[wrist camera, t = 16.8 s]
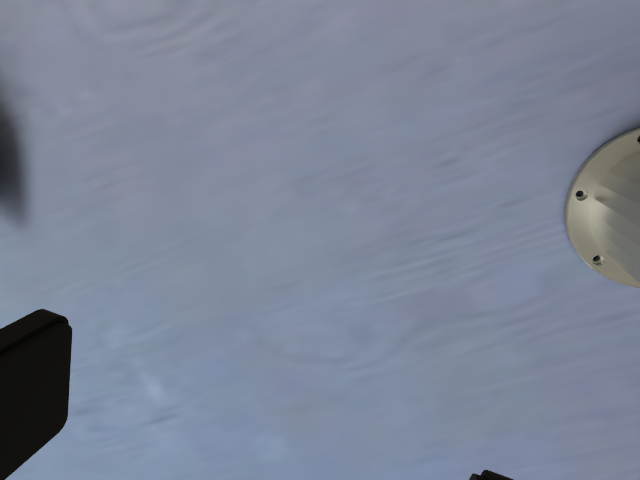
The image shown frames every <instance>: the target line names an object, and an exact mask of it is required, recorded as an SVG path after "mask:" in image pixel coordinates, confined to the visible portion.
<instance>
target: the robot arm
mask: <svg viewBox="0 0 640 480" xmlns="http://www.w3.org/2000/svg"><path fill="white" fill-rule="evenodd" d="M639 136H640V127H639V128H637V129H634V130H631V131H628V132H625V133H623V134H621V135H619V136H617V137H616V138H614V139H612V140H610V141H608V142H607V143H605V144H604V145H603V146H602V147H600V148H599V149H598V150H596V151H595V152H594V153H593V154H592V155H591V156H590V157H589V158H588V159H587V160H586V161H585V162H584V164H583V165H582V166H581V167H580V169H579V170H578V172H577V173H576V175H575V177H574V178H573V180H572V182H571V185H570V187H569V190H568V192H567V195H566V201H565V207H564V221H565V227H566V231H567V235H568V238H569V240H570V242H571V244H572V246H573V248H574V249H575V251H576V252H577V253H578V255H579V256H580V257H581V258H582V260H583V261H584V262H585V263H586V264H587V265H588V266H589V267H590V268H592V269H593V270H594V271H596V272H598V273H599V274H601V275H602V276H604V277H605V278H608V279H610V280H612V281H615V282H617V283H620V284H624V285H628V286H633V287H638V288H640V142H638V141H637V138H638V137H639ZM577 191H582V194H581V195H580V196H576V193H577ZM597 255H598V258H597V259H596V260H593V258H594V257H595V256H597ZM71 344H72V328H71V326H69V324H68V320H67V318H65V317H64V316H61V315H58V314H56V313H53V312H50V311H47V310H45V309H40V310H37V311H34V312H33V313H31V314H29V315H27V316H25V317H23V318H21V319H19V320H17V321H15V322H13V323H11V324H9V325H7V326H5V327H4V328H2V329H0V480H5V479H6V478H7V477H8V476H9V475H11V474H12V473H13V472H14V471H15V470H16V469H18V468H19V467H20V466H21V465H22V464H23V463H24V462H26V461H27V460H28V459H29V458H30V457H31V456H32V455H34V454H35V453H36V452H37V451H38V450H39V449H40V448H42V447H43V446H44V445H45V444H46V443H47V442H49V441H50V440H51V439H52V438H53V437H54V436H55V435H57V434H58V433H59V432H60V431H61V429H62V428H63V427H64V425H65V423H66V420H67V417H68V400H69V381H70V363H71ZM469 480H513V479H511V478H508V477H505V476H502V475H500V474H497V473H494V472H491V471H488V470H484V471H483V472H482V474H481V476H480V475H477V474H472V475H471V477H470V479H469Z"/></svg>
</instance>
